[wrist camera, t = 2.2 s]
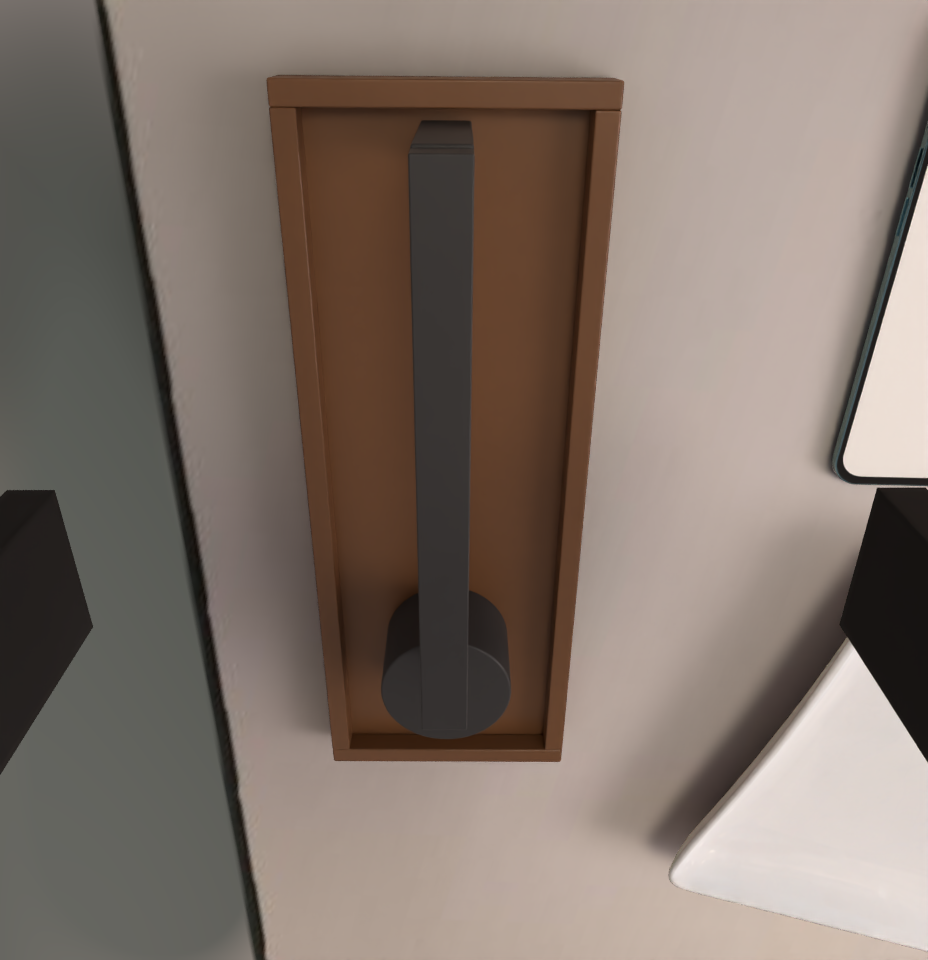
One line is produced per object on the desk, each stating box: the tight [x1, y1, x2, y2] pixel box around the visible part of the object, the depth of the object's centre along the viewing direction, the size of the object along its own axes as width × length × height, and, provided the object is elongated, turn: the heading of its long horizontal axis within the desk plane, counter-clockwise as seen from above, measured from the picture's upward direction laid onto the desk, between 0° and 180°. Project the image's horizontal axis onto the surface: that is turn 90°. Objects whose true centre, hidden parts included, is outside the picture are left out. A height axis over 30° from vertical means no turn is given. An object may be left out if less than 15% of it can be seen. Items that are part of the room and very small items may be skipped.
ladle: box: [381, 120, 511, 739], centre depth 28 cm, size 23×5×7 cm, turn 0°
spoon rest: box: [266, 75, 624, 762], centre depth 32 cm, size 29×11×2 cm, turn 0°
